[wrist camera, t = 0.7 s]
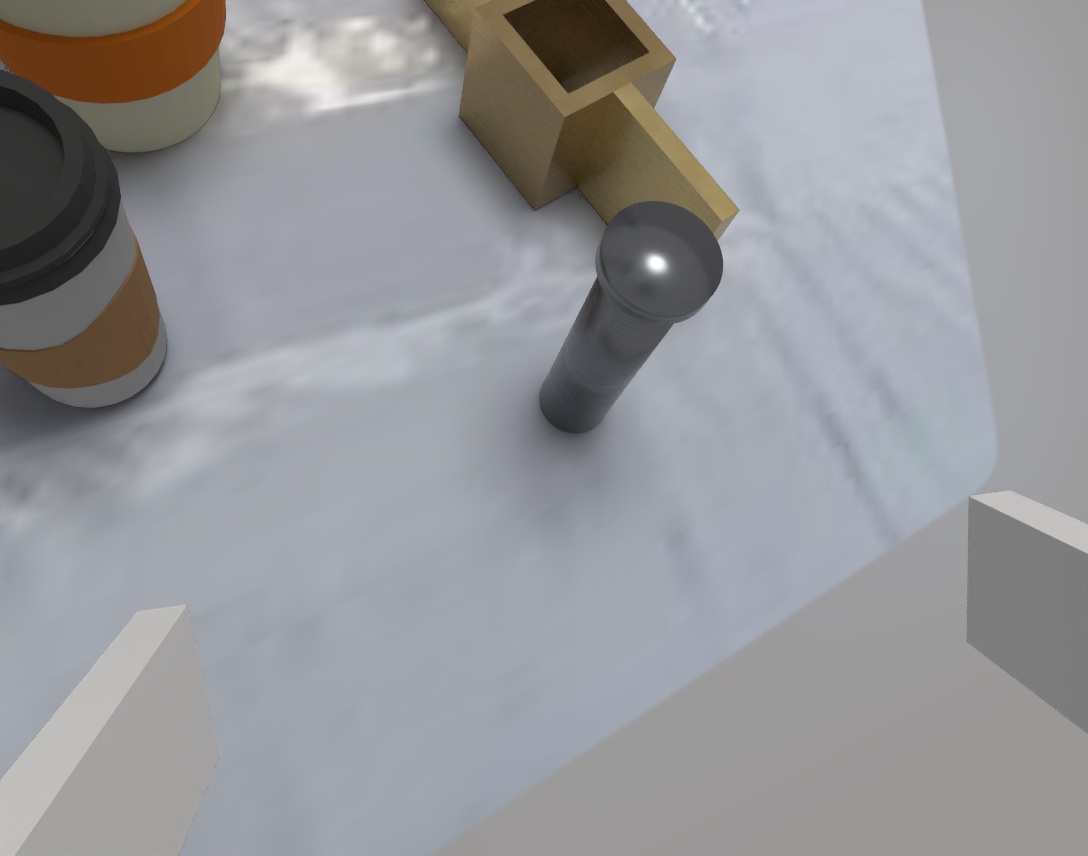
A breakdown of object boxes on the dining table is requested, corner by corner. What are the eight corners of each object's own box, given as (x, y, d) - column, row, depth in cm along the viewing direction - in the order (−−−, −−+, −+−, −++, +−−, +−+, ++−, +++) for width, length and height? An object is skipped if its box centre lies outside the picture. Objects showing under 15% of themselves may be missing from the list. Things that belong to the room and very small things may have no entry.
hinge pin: (513, 388, 45) (576, 236, 31) (580, 345, 46) (669, 181, 32) (565, 458, 44) (656, 334, 30) (632, 412, 45) (747, 273, 32)
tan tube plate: (375, 11, 51) (376, -111, 43) (475, -32, 53) (492, -154, 46) (627, 325, 47) (674, 250, 40) (721, 263, 50) (783, 182, 42)
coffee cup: (67, 247, 43) (-81, 15, 29) (223, 316, 43) (151, 119, 29) (-35, 387, 39) (-257, 203, 26) (133, 460, 40) (5, 317, 26)
